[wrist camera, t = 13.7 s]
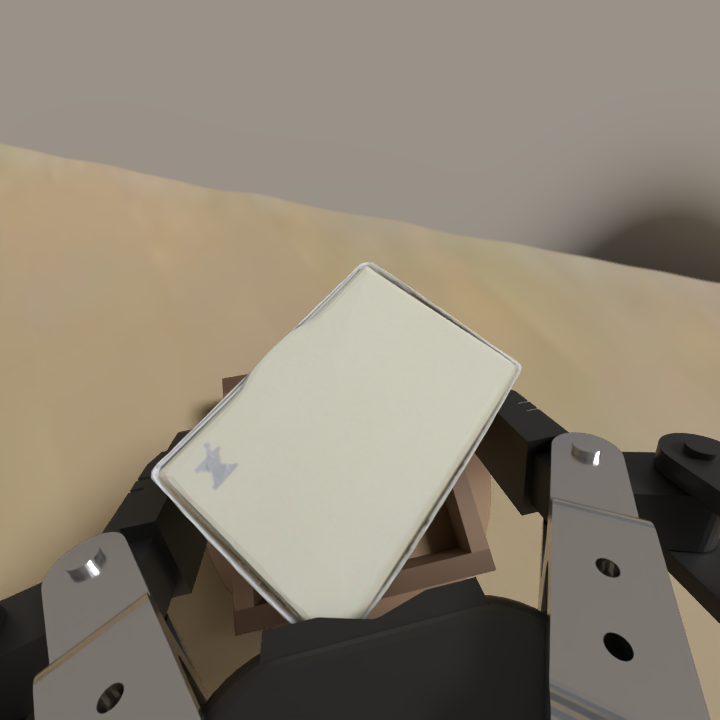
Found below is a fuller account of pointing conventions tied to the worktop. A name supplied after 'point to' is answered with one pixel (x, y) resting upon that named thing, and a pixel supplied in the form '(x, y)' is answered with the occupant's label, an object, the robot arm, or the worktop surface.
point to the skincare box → (340, 446)
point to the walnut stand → (422, 569)
